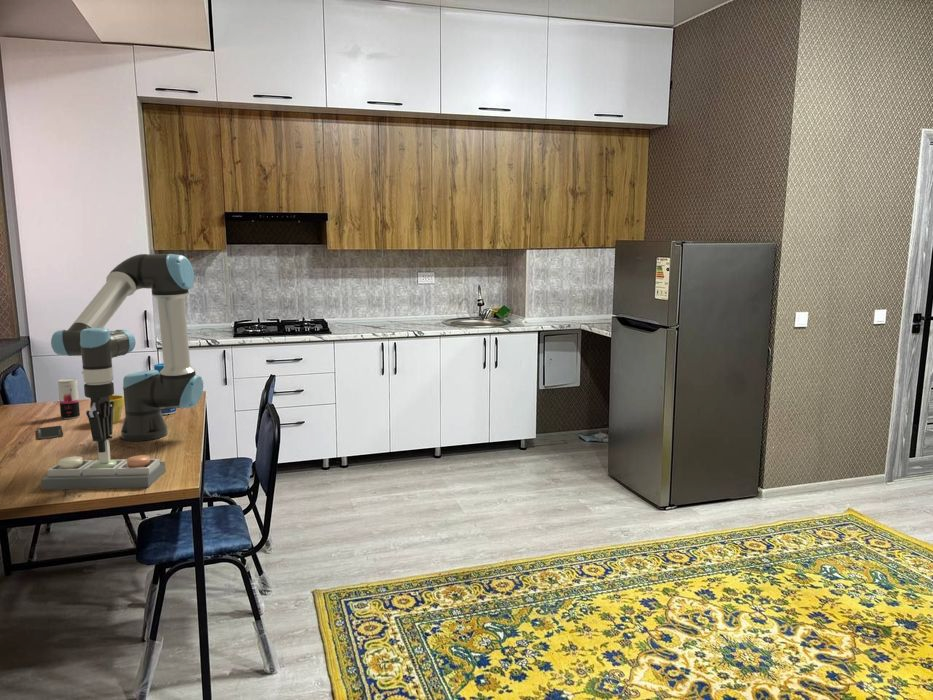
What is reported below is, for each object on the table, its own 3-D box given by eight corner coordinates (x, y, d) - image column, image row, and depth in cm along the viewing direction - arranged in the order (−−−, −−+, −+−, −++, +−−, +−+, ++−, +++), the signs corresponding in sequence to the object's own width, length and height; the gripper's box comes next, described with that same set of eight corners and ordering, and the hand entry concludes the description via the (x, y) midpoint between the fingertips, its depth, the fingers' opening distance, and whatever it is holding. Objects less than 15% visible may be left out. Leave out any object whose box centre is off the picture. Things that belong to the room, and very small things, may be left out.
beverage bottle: (180, 410, 288) (177, 362, 285) (172, 415, 279) (169, 366, 276) (159, 410, 287) (156, 362, 284) (151, 415, 279) (148, 366, 276)
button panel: (66, 473, 209) (64, 457, 208) (165, 471, 211) (164, 456, 211) (41, 489, 195) (40, 473, 195) (148, 487, 198) (147, 471, 197)
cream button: (65, 462, 205) (64, 456, 204) (86, 462, 205) (86, 456, 205) (54, 469, 199) (54, 463, 198) (76, 468, 199) (76, 462, 199)
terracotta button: (132, 461, 206) (131, 455, 206) (153, 460, 207) (152, 455, 206) (123, 467, 200) (123, 461, 200) (145, 467, 201) (145, 461, 200)
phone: (37, 437, 244) (36, 428, 256) (37, 441, 244) (37, 431, 257) (63, 434, 248) (61, 425, 261) (63, 437, 248) (61, 428, 261)
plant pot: (130, 418, 274) (128, 394, 272) (118, 425, 263) (116, 400, 262) (103, 418, 273) (101, 394, 272) (90, 425, 263) (88, 400, 262)
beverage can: (72, 419, 272) (69, 381, 270) (57, 418, 273) (53, 381, 271) (83, 415, 278) (80, 378, 276) (69, 414, 279) (65, 378, 277)
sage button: (99, 465, 206) (98, 459, 205) (120, 465, 206) (119, 459, 206) (89, 472, 200) (89, 466, 199) (111, 471, 200) (111, 465, 200)
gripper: (95, 378, 205) (101, 455, 209) (74, 387, 192) (80, 469, 196) (121, 377, 206) (127, 454, 209) (102, 386, 193) (108, 468, 196)
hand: (104, 461), depth 203 cm, fingers closed
